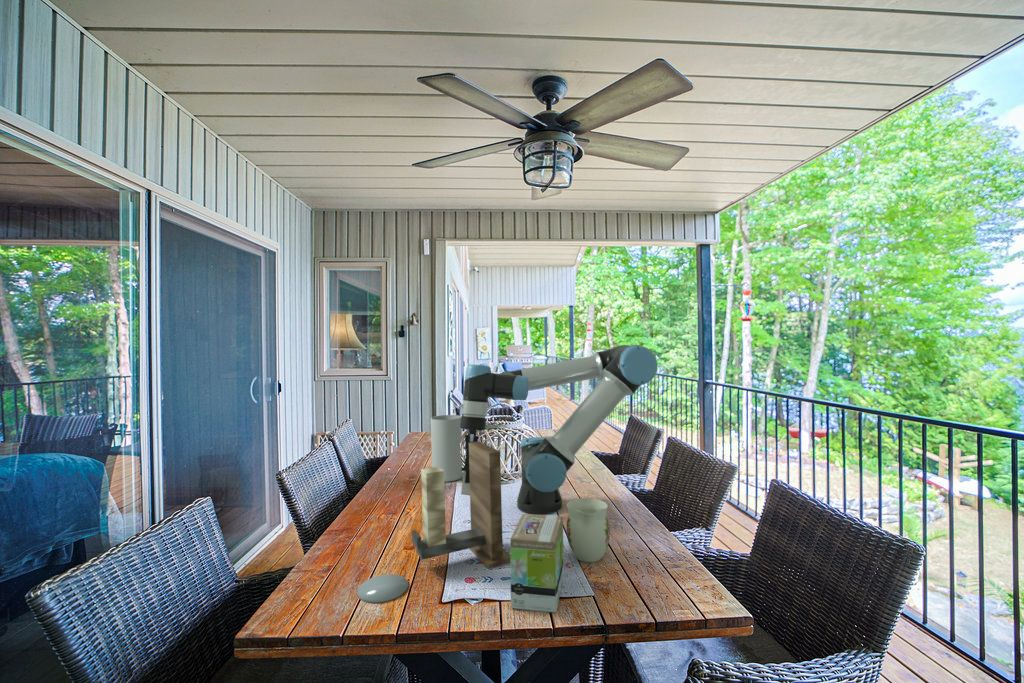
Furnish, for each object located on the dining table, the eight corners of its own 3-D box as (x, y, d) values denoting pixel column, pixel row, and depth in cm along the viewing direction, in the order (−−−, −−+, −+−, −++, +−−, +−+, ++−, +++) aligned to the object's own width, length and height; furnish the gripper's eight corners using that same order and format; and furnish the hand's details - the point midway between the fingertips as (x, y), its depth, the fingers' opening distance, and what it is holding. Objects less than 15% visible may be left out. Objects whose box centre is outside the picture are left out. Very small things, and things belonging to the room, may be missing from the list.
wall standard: (488, 538, 130) (485, 439, 130) (513, 562, 116) (510, 450, 116) (407, 557, 120) (404, 450, 120) (424, 586, 106) (421, 464, 106)
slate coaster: (408, 574, 111) (408, 571, 111) (407, 598, 101) (407, 596, 101) (360, 580, 109) (360, 577, 109) (354, 606, 98) (354, 603, 98)
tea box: (558, 614, 94) (556, 541, 94) (509, 609, 96) (507, 538, 96) (564, 576, 108) (562, 513, 108) (522, 573, 110) (520, 511, 110)
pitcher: (606, 539, 127) (605, 490, 127) (613, 572, 110) (612, 514, 110) (566, 539, 129) (565, 489, 129) (567, 571, 111) (565, 514, 111)
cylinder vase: (460, 482, 184) (459, 419, 184) (429, 482, 184) (427, 420, 184) (464, 473, 196) (462, 414, 196) (435, 473, 196) (433, 415, 196)
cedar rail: (440, 536, 118) (438, 466, 118) (445, 543, 114) (444, 470, 114) (423, 540, 116) (421, 469, 116) (428, 547, 112) (426, 473, 112)
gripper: (462, 414, 150) (455, 482, 147) (460, 415, 127) (451, 497, 123) (485, 416, 151) (478, 484, 148) (487, 418, 127) (479, 499, 124)
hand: (466, 490), depth 136 cm, fingers open, 11 cm apart
